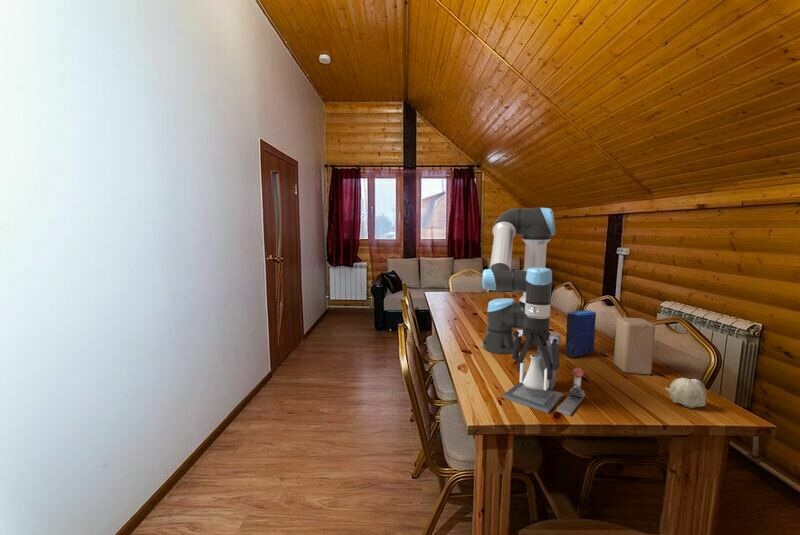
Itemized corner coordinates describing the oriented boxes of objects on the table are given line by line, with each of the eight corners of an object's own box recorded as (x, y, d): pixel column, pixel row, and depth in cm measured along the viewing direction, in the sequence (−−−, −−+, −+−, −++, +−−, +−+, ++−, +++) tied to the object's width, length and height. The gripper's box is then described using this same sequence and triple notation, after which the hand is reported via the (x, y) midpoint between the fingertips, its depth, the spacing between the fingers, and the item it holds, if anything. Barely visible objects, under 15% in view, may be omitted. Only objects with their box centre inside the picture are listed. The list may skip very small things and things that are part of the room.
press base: (503, 397, 110) (505, 341, 108) (528, 378, 125) (530, 328, 123) (566, 420, 97) (570, 356, 95) (585, 395, 112) (589, 339, 110)
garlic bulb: (701, 413, 105) (719, 387, 103) (691, 417, 101) (710, 390, 98) (668, 393, 113) (684, 368, 110) (658, 395, 108) (674, 369, 105)
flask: (546, 392, 105) (548, 361, 104) (522, 388, 108) (523, 358, 107) (545, 382, 112) (546, 353, 111) (522, 379, 114) (523, 351, 113)
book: (572, 359, 144) (575, 313, 142) (562, 355, 149) (564, 311, 147) (595, 354, 150) (598, 310, 148) (584, 350, 155) (586, 308, 153)
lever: (569, 393, 110) (570, 368, 109) (572, 390, 113) (573, 364, 112) (581, 397, 108) (582, 371, 107) (584, 393, 110) (585, 367, 109)
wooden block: (652, 375, 128) (656, 324, 126) (623, 373, 130) (627, 322, 128) (639, 365, 138) (643, 317, 136) (612, 363, 140) (615, 316, 138)
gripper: (502, 312, 112) (500, 379, 114) (566, 324, 98) (562, 399, 100) (512, 309, 117) (509, 372, 119) (574, 319, 104) (570, 390, 106)
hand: (533, 384), depth 110 cm, fingers closed on flask, 7 cm apart
